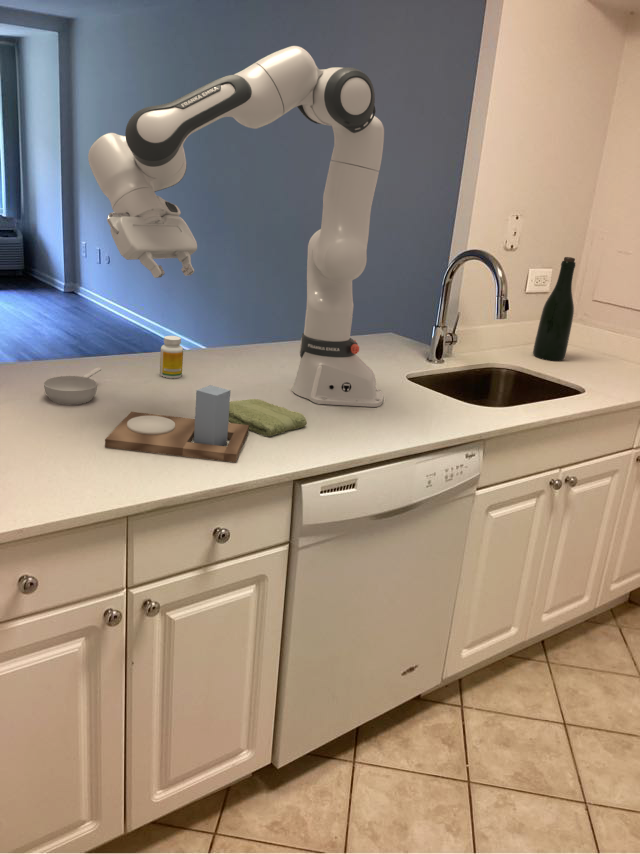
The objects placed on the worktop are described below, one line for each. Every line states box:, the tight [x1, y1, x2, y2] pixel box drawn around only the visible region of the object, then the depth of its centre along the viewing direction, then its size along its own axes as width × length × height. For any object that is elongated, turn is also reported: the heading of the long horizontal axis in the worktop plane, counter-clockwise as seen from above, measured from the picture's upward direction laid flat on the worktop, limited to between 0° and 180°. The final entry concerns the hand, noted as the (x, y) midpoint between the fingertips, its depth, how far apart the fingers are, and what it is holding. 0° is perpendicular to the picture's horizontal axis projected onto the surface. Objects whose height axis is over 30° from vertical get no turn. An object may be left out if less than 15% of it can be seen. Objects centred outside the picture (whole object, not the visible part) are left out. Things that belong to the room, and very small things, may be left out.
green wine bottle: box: [532, 256, 577, 362], centre depth 237 cm, size 10×10×33 cm
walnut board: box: [104, 411, 250, 463], centre depth 139 cm, size 24×16×2 cm, turn 87°
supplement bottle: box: [159, 335, 184, 379], centre depth 177 cm, size 5×5×10 cm
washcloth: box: [228, 398, 308, 438], centre depth 154 cm, size 13×18×3 cm
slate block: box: [193, 384, 231, 446], centre depth 137 cm, size 4×4×11 cm
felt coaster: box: [127, 416, 175, 435], centre depth 140 cm, size 9×9×1 cm
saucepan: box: [43, 367, 102, 406], centre depth 158 cm, size 11×18×4 cm, turn 168°
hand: (175, 275), depth 141 cm, fingers open, 8 cm apart
